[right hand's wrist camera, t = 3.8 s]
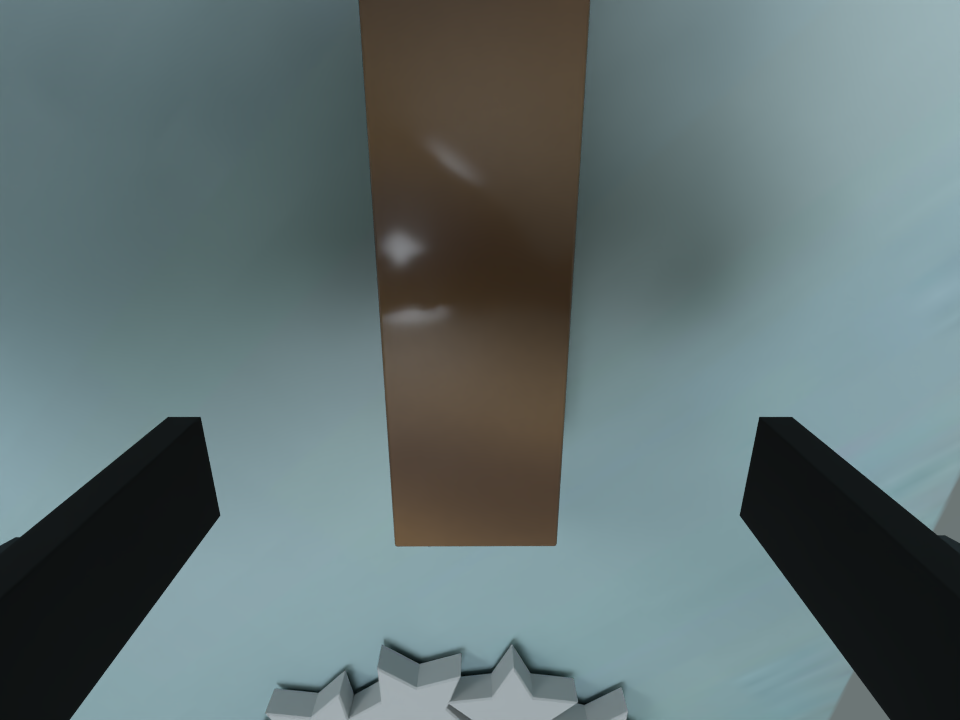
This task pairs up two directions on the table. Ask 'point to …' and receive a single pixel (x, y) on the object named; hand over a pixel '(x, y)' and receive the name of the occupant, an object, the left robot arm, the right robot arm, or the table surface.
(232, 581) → the table surface
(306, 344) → the table surface
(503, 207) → the beam
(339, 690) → the decorative wreath
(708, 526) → the table surface
